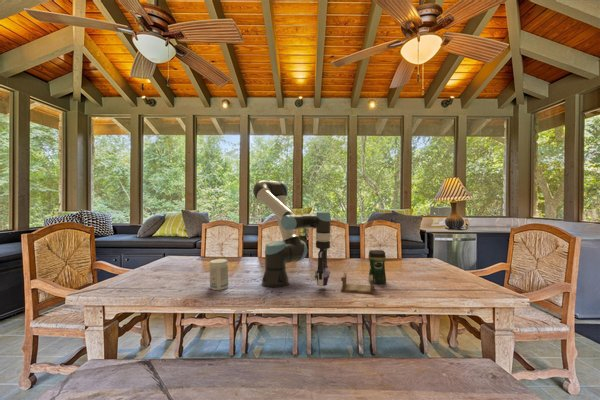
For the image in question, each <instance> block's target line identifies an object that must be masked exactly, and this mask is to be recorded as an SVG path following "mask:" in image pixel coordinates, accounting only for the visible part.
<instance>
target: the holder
mask: <svg viewBox="0 0 600 400" xmlns="http://www.w3.org/2000/svg"><path fill="white" fill-rule="evenodd" d="M340 280H341V282H342V285H341V289H340V292H343V293H344V292H346V293H354V292H355V293H358V294H367V295H375V285H374V284H373V283H375V280H374V279H373V275H371V283H370V285H367V284H354V283H347V272H344V273H343V275H342V276H341V279H340ZM355 293H354V294H355Z"/></svg>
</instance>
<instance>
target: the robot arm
mask: <svg viewBox="0 0 600 400" xmlns="http://www.w3.org/2000/svg"><path fill="white" fill-rule="evenodd" d="M288 192H289V189H288V186H287V184H286V183H285V182H284V181H281V180H265V179H264V180H263V179H262V180H259V181H257V182H256V183H255V184H254V185H253V189H252V193H253V196H254V198H255V199H256V200H257V201H258V202H260V203H262V204H264V205H265V206H266V207H267V209H269V210H270V211H271V212H272V214H274V215H275V216H276V217H275V218H276V221H277V224H278V227H279V230H280V233H281V234H280V235H281V237H282V240H275V241H270V242H268V243H266V245H265V248H264V255H265V258H264V267H265V268H264V273H263V276H262V279H261V284H262V285H263V286H264V287H267V288H281V287H286V286H287V285H289V283H290V281H289V276H288V272H287V269H286V268H287V267H286V265H287V264H288V263H289V264H290V263H295V262H299V261H302V260H305V258H306V257H307V254H308V246H307V244H306V242H305V241H304V240H301V238H300V236H299V235H298V234H296V230H298V229H309V228H311V229H316V230H315V247H316V249H319V251H318V252H317V255H318V258H317V270H318V271H317V273H318V285H317V286H319V285H320V287H324V286H323V277H324V273H323V268H324V262H325V263H326V265H327V266H326V268H325V270H327V269H328V268H329V267H328V249H330V248H331V241H330V240H331V237H332V234H331V222H332V221H331V220H332V219H331V218H332V217H331V212H329V211H325V210H323V211H321V210H320V211H317V212H316V214H314V213H302V214H301V213H300V214H295V213H294V212H293V211H292V210H291V209H290V208H289V207H288V204H287V203H286V202H287V201H286V200H287V197H288V195H289V193H288ZM320 270H321V271H320Z"/></svg>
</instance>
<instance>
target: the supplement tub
mask: <svg viewBox="0 0 600 400" xmlns="http://www.w3.org/2000/svg"><path fill="white" fill-rule="evenodd" d="M228 287H229V264H228V259H226V258H225V259H224V258H217V259H212V260H210V261H209V289H211V290H214V291H222V290H226V289H227V288H228Z"/></svg>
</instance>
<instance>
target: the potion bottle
mask: <svg viewBox="0 0 600 400" xmlns="http://www.w3.org/2000/svg"><path fill="white" fill-rule="evenodd" d="M326 266H328V264H327V265H326V263H325V262H324V268H323V273H324V277H323V286H322V287H326V286H328V282H329V278H330V275H331V271H330V270H327V268H326ZM325 268H326V270H325ZM317 271H318V269H315V270H314V278H315V280H316V284H317V286H320V285H318V273H317ZM320 271H321V270H320ZM320 287H321V286H320Z"/></svg>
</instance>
